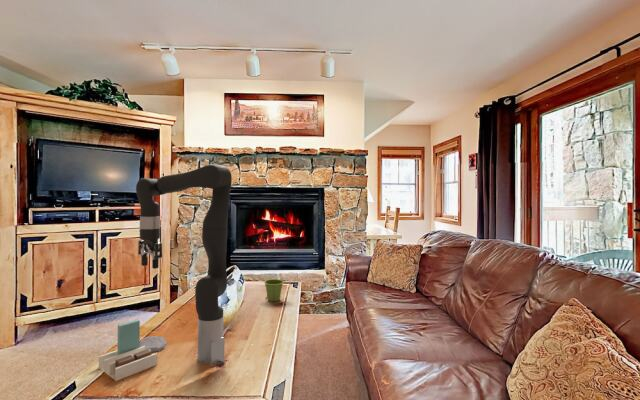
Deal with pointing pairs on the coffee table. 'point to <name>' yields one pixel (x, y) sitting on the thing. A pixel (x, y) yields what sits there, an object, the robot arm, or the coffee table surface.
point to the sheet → (128, 336)
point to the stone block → (153, 343)
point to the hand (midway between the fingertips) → (149, 266)
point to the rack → (128, 369)
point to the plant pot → (273, 289)
